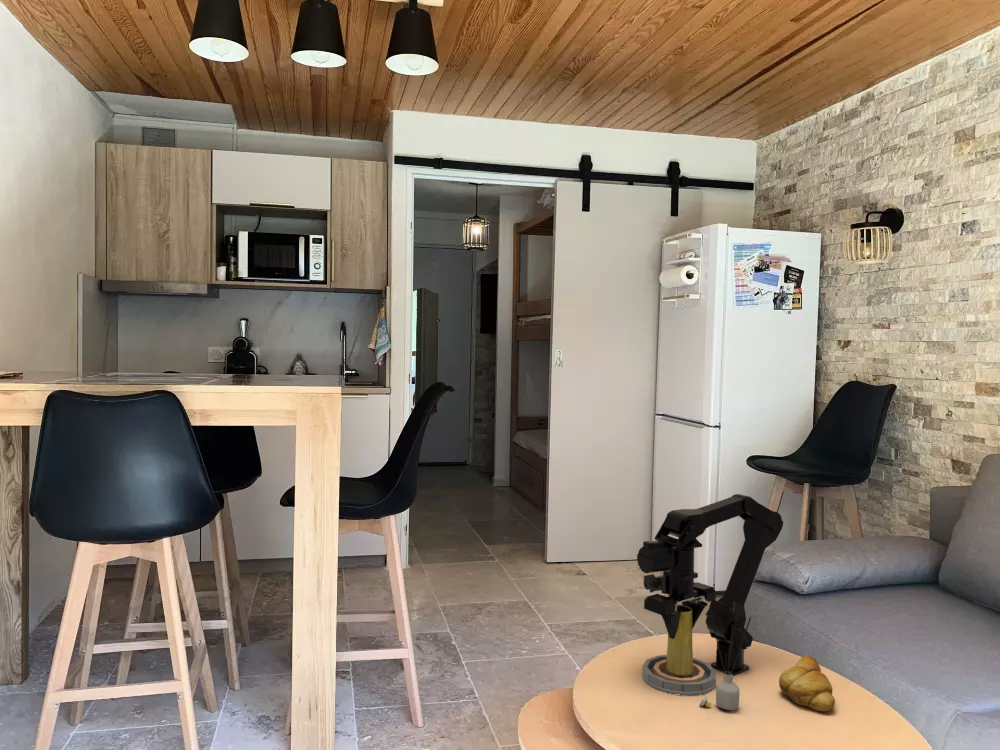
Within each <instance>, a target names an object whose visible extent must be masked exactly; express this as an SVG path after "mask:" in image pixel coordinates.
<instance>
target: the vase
mask: <svg viewBox="0 0 1000 750" xmlns="http://www.w3.org/2000/svg"><path fill="white" fill-rule="evenodd" d="M677 611H680V612H681V616H680V620H679V624H678V627H677V631H676V635H675V638H674V639H671V638H670V637H669V635H668V634H667V648H666V655H667V661H666V670H667V671H668V672H669V673H671V674H674V675H679V676H686V675H690V674H692V673H693V658H694V657H693V656H694V654H693V650H694V649H693V629H692V609H691V608H690V607H688V606H685V605H682V604H677Z"/></svg>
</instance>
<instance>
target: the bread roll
mask: <svg viewBox="0 0 1000 750" xmlns="http://www.w3.org/2000/svg"><path fill="white" fill-rule="evenodd" d="M778 684H779V685H778V686H779V688H780V690H781V692H782V693H784V694H785V695H786V696H788V697H789V698H790V700H792V701H793V702H794V703H796V704H797V705H800V706H803V707H805V706H807V707H808V708H810V709H812V710H814V711H818V712H830V711H832V709H834V706H835V703H836V698H835V697H834V696H833V685H832V683H831V681H830V680H829V677H827V675H826V674H825V673H824V672H822V669H821V666H820V663H819V662H818V661H817V659H816V658H815V657H812V656H809V655H804V656H801V657H800V658H799V659H798V660H797V662H796V663H795V665H794V666H790V667H789V668H787V669H785V670H783V671H782V672H781V673H780V676H779V679H778Z"/></svg>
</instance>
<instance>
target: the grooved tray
mask: <svg viewBox="0 0 1000 750" xmlns="http://www.w3.org/2000/svg"><path fill="white" fill-rule="evenodd" d="M666 661H667V654H659V655H655V656H651V657H650V658H647V659H646V660H645V661H644V663H643V665H642V670H641V672H642V673H641V677H642V680H643V682H644V683H645V684H646V685H647V686H649V687H651V688H652V689H655V690H656V689H657V691H660V692H662V693H665V692H666V694H669V693H671V694H670V695H673V694H680V695H679V696H681V695H697V696H700V695H699V694H703V695H705V693H706V694H709V693H711V692H712V690H713V689H714V688H715V689H716V686H717V671H716V670H715V669H714V667H712V666H711V664H709V663H708V662H705V661H703V660H700V659H698V658H696V657H693V673H692V674H690V675H686V676H679V675H674V674H671V673H669V672H668V671H667V670H666ZM715 689H714V690H715ZM710 691H711V692H710ZM708 692H709V693H708Z"/></svg>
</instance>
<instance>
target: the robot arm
mask: <svg viewBox="0 0 1000 750" xmlns="http://www.w3.org/2000/svg"><path fill="white" fill-rule="evenodd" d="M737 517H739V518H741V519H742V520H743V521H744V522H743V526H742V530H743V536H744V542H743V544H742V547H741V550H740V551H739V555H738V557H737V559H736V562H735V565H734V568H733V570H732V573H731V575H730V578H729V581H728V583H727V587H726V589H725V591H724V594H723V596H722V597H721V598H719V599H718V600H717V596H716V595H717V591H716V590H715V587H713V586H711V585H707V584H704V583H701V582H695V579H697V578H699V572H695V549H696V548H702V547H703V544H702V543H701V542H700V541H699V540H698V539H697V538H698V537H700V536H701V535H703V534H704V533H705V531H706V530H707V529H708V528H709V527H712V526H714V525H717V524H720V523H722V522H726V521H728V520H731V519H733V518H737ZM783 526H784V521H783V518H782V515H781V513H779V512H778V511H774V510H771V509H769V508H768V507H767V506H764V505H763V504H761V503H760V502H758V501H757V500H755V498H753V497H751V496H748V495H744V494H741V493H735V494H733V495H732V496H730V497H728V498H725V499H722V500H718V501H716V502H713V503H710V504H707V505H705V506H702V507H698V508H681V509H673V510H670V511H669V512H667V514H666V516H665V519H664V521H663V522H662V524H661V526H660V528H659V529H658V531H657V533H656V534H655V536H654V538H653V539H654V540H652V541H651V540H650V541H649V540H646V541H643V543H642V547H640V549H639V550H638V553H637V555H636V559H637V565H638V568H639V569H640V570H641V572H642V573H644V574H646V575H644V576H643V586H644V587H643V588H644V589H645V590H649V593H654V592H657V591H658V592H659V591H661V594H659V593H655V594H652V595H649V596H646V597H645V598H644V600H643V608H644V610H645V611H649V612H651V613H655V614H657V615H660V616H661V617H662V619H663V622H664V624H665V625H664V626H665V628H666V631H667V636H668V635H669V637H670V638H671V639H674V638H675V635H676V631H677V627H678V624H679V620H680V616H681V612H680V611H677V605H679V604H681V605H685V606H688V607H690V608H691V609H692V630H693V629H694V627H695V626H696V623H697V622H698V619H699V617H700V616H701V614H702V613H703V612H704V609H705V608H706V607H707V606H708V603H710V604H709V608H708V610H707V611H706V612H705V616H706V618H705V624H706V628H707V629H708V631H709V634H710V637H711V638H713V639H715V640H716V637H715V632H714V628H713V624H712V620H711V616H712V619H713V623H714V627H715V631H716V635H717V640H718V644H719V648H720V652H721V656H722V661H723V665H724V669H725V671H727V667H728V658H729V648H730V639H731V630H732V624H733V632H734V626H735V620H736V614H737V622H736V628H735V635H734V641H733V647H732V654H731V660H730V666H729V671H730V672H731V671H732V668H733V666H734V663H735V660H736V657H737V654H738V651H739V648H740V645H741V642H742V639H743V636H744V633H745V630H746V628H745V625H746V622H747V616H746V609H745V608H746V607H745V603H746V601H747V599H748V596H749V594H750V590H751V588H752V585H753V582H754V580H755V578H756V575H757V572H758V569H759V566H760V564H761V561H762V559H763V556H764V554H765V550H766V549H767V548H768V547H769V546H771V545H772V544H773V543H774V542H776V540H777V539H778V537H779V535H780V533H781V531H782V530H783ZM675 537H676V538H675ZM659 572H663V573H662V574H661V575H657V576H655V574H654V573H659ZM651 573H652V574H651ZM662 594H664V595H662ZM666 595H668V596H666ZM703 597H704V600H705V601H706V602H705V601H704V600H703ZM707 602H708V603H707ZM732 639H733V633H732ZM753 640H754V637H753V635H751V634H750V632H748V630H747V631H746V634H745V637H744V640H743V643H742V646H741V649H740V652H739V655H738V658H737V661H736V664H735V667H734V670H733V676H735V675H737V674H740V673H742V672H744V671H747V670H749V669H750V665H747V664H746V663H745V664H744V662H745V660H744V659H745V650H747V648H750V647H752V643H753ZM731 645H732V642H731ZM715 653H716V654H715V662H712V663H711V664H710V666H711V667H712V668H715V669H718V670H720V671H722V672H724V670H723V666H722V662H721V658H720V653H719V649H718V645H717V644H716V650H715Z"/></svg>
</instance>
